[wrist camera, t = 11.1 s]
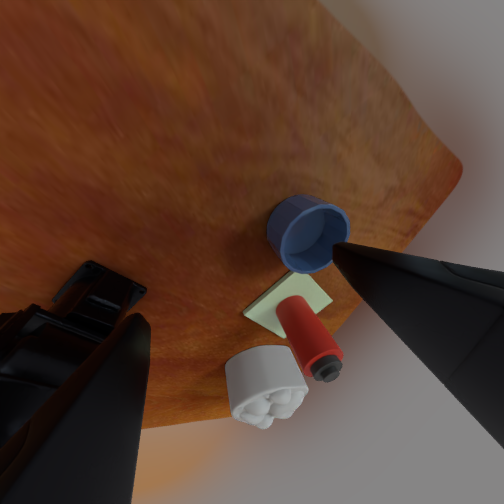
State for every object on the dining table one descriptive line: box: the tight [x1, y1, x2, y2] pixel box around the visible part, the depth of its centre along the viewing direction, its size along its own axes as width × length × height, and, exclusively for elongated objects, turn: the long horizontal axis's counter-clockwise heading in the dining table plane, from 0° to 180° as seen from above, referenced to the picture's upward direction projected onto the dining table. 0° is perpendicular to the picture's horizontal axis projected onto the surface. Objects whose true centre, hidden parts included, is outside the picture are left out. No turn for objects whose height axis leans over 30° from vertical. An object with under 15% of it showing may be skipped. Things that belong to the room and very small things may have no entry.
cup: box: [266, 194, 350, 274], centre depth 21 cm, size 8×8×4 cm
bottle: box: [276, 295, 343, 382], centre depth 25 cm, size 5×5×10 cm
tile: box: [243, 271, 333, 339], centre depth 29 cm, size 11×11×1 cm
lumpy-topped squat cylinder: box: [225, 345, 308, 429], centre depth 32 cm, size 10×13×9 cm
